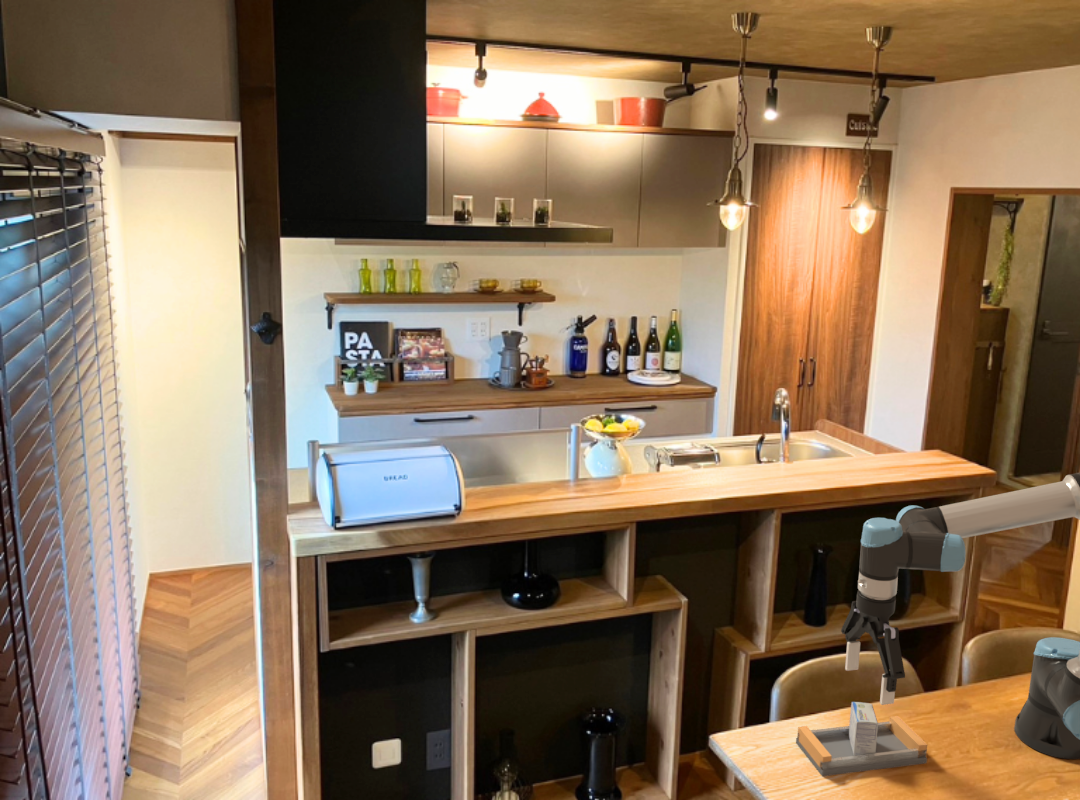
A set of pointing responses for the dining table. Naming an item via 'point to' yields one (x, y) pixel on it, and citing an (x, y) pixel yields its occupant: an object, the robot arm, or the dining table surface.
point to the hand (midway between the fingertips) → (868, 685)
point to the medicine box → (863, 728)
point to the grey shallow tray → (892, 750)
